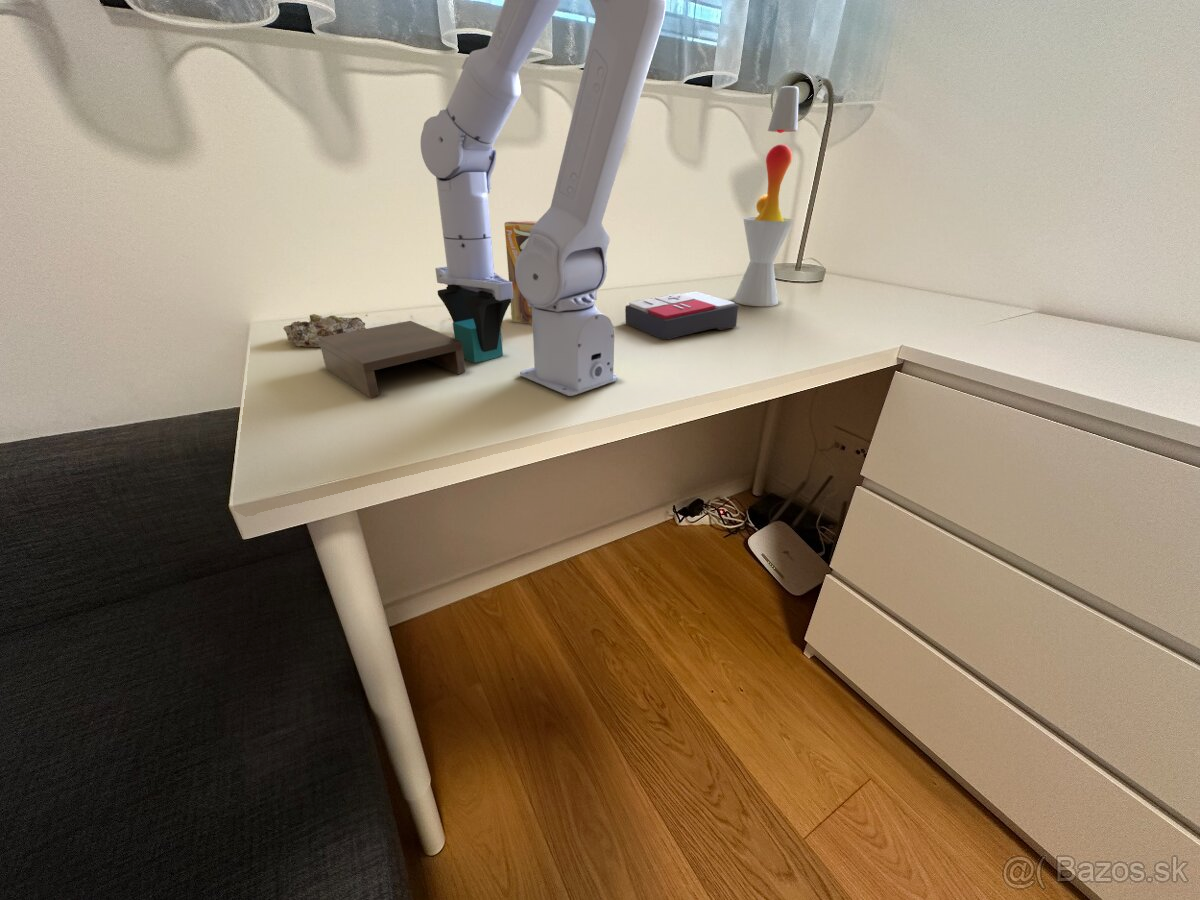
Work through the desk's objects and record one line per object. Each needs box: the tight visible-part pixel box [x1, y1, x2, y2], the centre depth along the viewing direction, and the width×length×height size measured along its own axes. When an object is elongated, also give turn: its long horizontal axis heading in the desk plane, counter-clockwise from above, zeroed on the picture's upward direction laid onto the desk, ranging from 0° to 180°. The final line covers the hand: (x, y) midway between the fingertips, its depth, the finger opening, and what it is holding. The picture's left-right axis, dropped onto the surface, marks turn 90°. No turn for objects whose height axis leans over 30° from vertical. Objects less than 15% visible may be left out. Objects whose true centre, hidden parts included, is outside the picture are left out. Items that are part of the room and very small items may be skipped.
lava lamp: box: [732, 85, 800, 307], centre depth 93 cm, size 9×9×35 cm
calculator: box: [625, 290, 739, 341], centre depth 84 cm, size 11×4×15 cm
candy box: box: [503, 220, 537, 325], centre depth 81 cm, size 9×4×15 cm, turn 67°
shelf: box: [318, 320, 466, 399], centre depth 63 cm, size 13×12×4 cm
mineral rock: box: [283, 313, 367, 348], centre depth 74 cm, size 11×4×8 cm
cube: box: [452, 319, 504, 364], centre depth 68 cm, size 4×4×4 cm
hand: (478, 345), depth 69 cm, fingers closed on cube, 4 cm apart
